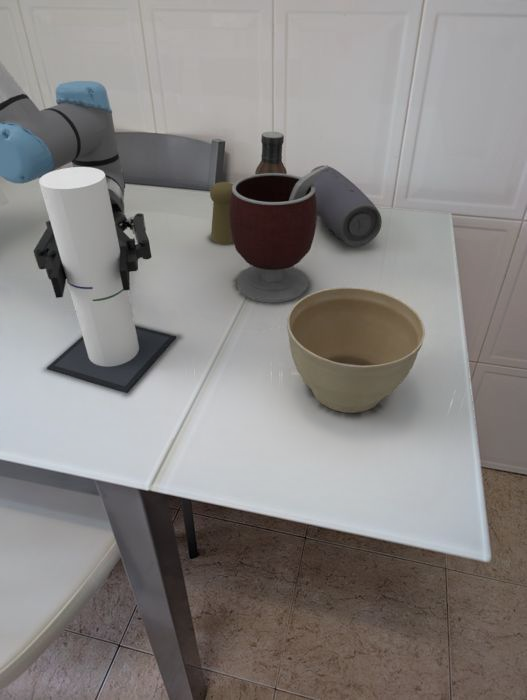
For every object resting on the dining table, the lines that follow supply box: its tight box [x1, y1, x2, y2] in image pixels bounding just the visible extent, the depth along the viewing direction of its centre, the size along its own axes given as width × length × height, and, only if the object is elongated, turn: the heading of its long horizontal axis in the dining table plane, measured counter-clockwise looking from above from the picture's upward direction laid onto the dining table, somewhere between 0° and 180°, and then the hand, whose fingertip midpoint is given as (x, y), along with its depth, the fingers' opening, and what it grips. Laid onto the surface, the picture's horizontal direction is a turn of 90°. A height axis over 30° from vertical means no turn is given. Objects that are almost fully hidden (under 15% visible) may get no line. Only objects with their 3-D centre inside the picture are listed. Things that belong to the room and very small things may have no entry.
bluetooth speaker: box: [310, 165, 383, 247], centre depth 102 cm, size 23×9×10 cm, turn 14°
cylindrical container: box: [38, 166, 139, 367], centre depth 64 cm, size 7×7×25 cm
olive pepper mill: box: [209, 181, 234, 245], centre depth 98 cm, size 6×6×11 cm
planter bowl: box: [286, 286, 426, 414], centre depth 62 cm, size 16×16×11 cm
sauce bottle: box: [254, 130, 288, 175], centre depth 95 cm, size 6×6×20 cm
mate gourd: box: [230, 164, 330, 304], centre depth 81 cm, size 16×14×20 cm
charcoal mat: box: [46, 325, 177, 394], centre depth 71 cm, size 13×13×1 cm
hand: (91, 284), depth 59 cm, fingers closed on cylindrical container, 7 cm apart
